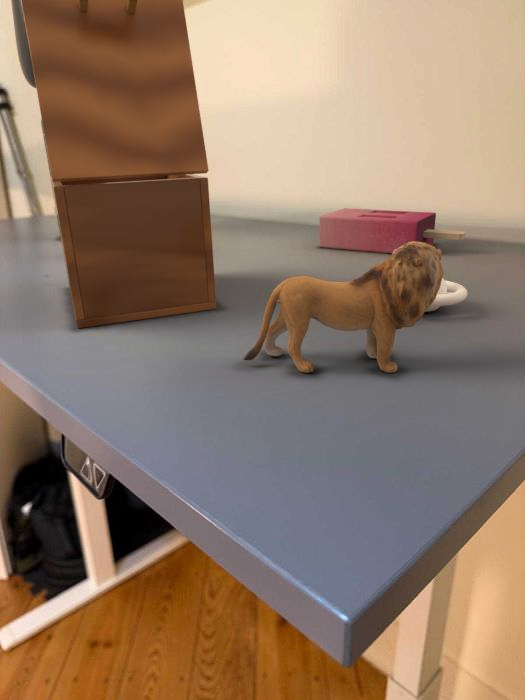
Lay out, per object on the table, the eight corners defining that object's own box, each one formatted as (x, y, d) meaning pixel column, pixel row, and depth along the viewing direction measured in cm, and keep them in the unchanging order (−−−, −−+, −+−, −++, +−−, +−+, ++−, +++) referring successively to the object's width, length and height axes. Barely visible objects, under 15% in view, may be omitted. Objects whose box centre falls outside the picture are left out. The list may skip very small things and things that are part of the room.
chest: (69, 288, 64) (50, 176, 59) (181, 275, 68) (172, 169, 64) (77, 328, 50) (53, 186, 46) (216, 308, 55) (208, 177, 50)
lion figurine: (422, 345, 44) (432, 234, 41) (446, 371, 39) (459, 248, 36) (242, 353, 43) (237, 242, 40) (244, 382, 38) (238, 257, 35)
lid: (18, -18, 45) (10, -67, 39) (178, -9, 49) (191, -52, 44) (52, 182, 46) (49, 161, 41) (206, 173, 50) (222, 153, 45)
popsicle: (457, 223, 70) (319, 215, 80) (453, 260, 72) (319, 247, 82) (473, 213, 77) (344, 207, 87) (469, 247, 79) (344, 237, 89)
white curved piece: (369, 314, 51) (456, 325, 48) (372, 254, 49) (463, 261, 46) (393, 295, 58) (471, 304, 54) (397, 242, 56) (478, 247, 52)
